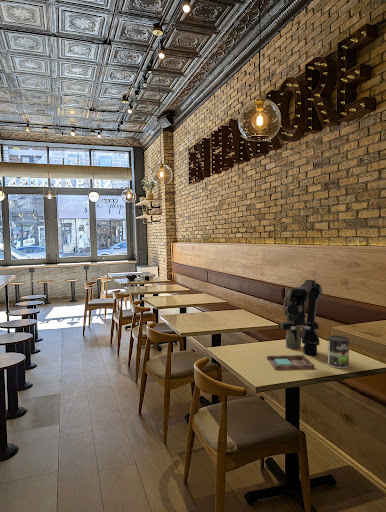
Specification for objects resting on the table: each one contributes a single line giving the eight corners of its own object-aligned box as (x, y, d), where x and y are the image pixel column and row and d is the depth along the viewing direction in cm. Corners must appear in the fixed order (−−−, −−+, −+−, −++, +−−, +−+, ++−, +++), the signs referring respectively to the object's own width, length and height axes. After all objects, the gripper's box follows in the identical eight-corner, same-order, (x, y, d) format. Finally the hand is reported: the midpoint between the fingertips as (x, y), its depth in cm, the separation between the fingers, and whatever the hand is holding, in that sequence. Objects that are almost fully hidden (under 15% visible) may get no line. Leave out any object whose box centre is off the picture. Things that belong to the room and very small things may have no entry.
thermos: (305, 348, 224) (306, 290, 223) (287, 349, 223) (287, 290, 221) (299, 344, 233) (299, 288, 231) (281, 345, 231) (281, 288, 229)
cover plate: (287, 361, 200) (287, 358, 200) (292, 366, 192) (292, 363, 192) (274, 361, 200) (274, 359, 200) (278, 366, 192) (278, 364, 192)
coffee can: (352, 367, 191) (353, 340, 191) (334, 369, 190) (334, 341, 189) (341, 361, 201) (342, 335, 201) (323, 362, 200) (324, 336, 199)
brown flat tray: (303, 359, 205) (303, 354, 205) (314, 369, 189) (314, 365, 189) (266, 360, 204) (267, 355, 204) (274, 370, 188) (274, 365, 188)
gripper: (311, 309, 204) (311, 337, 204) (277, 309, 203) (277, 338, 204) (319, 313, 193) (319, 343, 193) (283, 313, 192) (283, 343, 192)
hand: (299, 341), depth 196 cm, fingers open, 3 cm apart
